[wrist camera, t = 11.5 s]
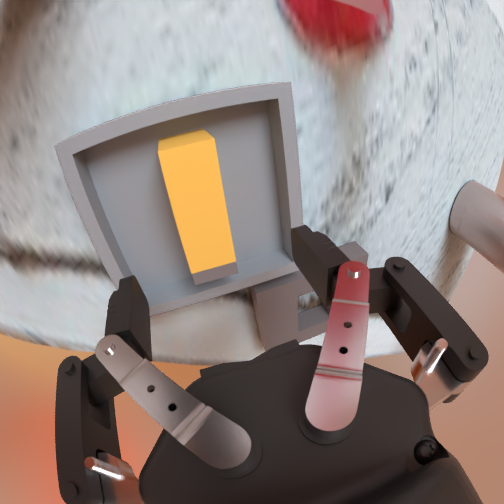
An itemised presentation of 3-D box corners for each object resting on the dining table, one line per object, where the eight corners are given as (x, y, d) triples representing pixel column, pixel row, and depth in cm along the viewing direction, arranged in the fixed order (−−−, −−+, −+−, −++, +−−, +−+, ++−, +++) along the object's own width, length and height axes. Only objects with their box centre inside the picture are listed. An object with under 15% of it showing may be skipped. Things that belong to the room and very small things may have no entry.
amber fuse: (214, 138, 13) (238, 273, 19) (202, 128, 17) (223, 239, 22) (157, 152, 13) (195, 285, 18) (158, 138, 16) (187, 249, 22)
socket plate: (354, 241, 28) (368, 253, 26) (347, 305, 34) (357, 317, 32) (247, 276, 26) (255, 293, 24) (260, 338, 32) (267, 354, 30)
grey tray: (273, 82, 17) (290, 82, 15) (290, 249, 26) (304, 268, 24) (68, 137, 15) (54, 146, 12) (135, 297, 23) (135, 320, 21)
